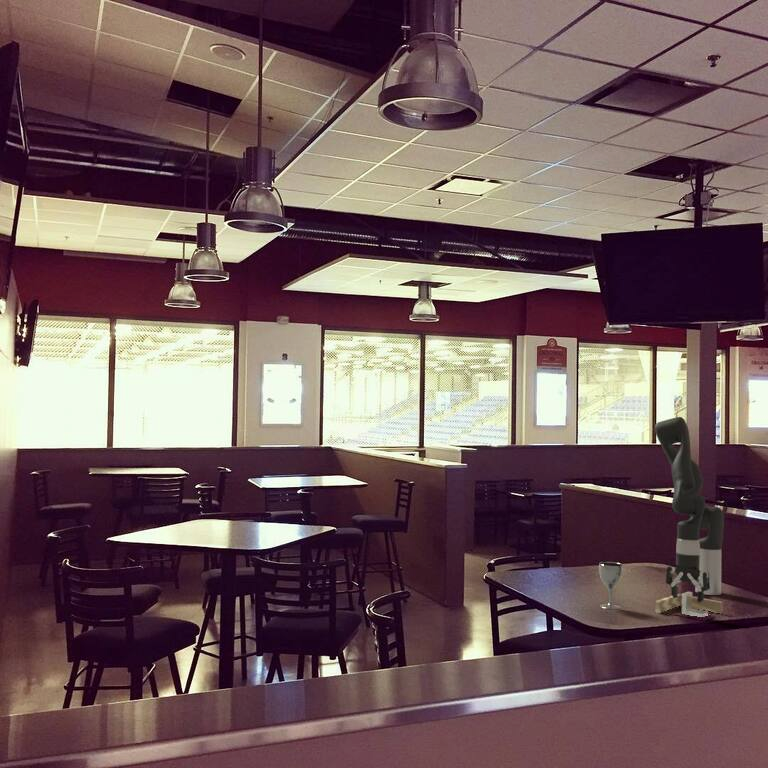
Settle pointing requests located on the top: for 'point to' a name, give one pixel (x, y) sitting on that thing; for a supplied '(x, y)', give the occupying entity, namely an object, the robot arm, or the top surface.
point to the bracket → (688, 608)
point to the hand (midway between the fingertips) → (687, 599)
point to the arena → (704, 605)
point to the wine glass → (610, 579)
